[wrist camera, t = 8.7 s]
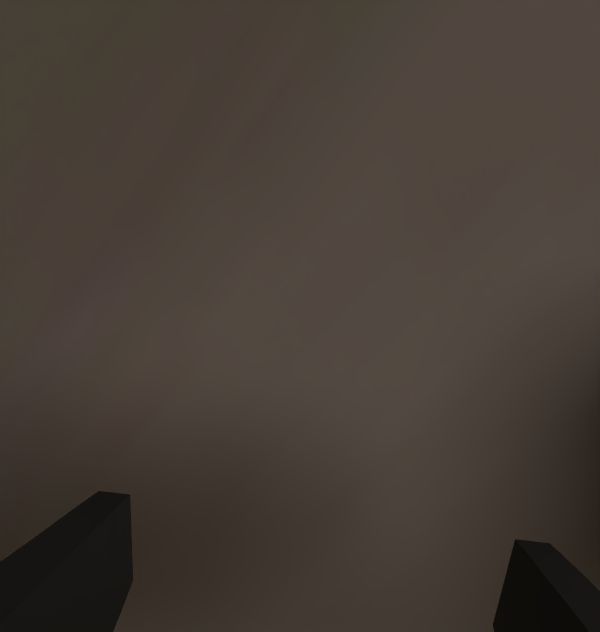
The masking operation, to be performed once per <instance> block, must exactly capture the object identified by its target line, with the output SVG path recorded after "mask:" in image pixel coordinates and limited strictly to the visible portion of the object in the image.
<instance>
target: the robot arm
mask: <svg viewBox="0 0 600 632" xmlns="http://www.w3.org/2000/svg"><path fill="white" fill-rule="evenodd" d="M132 581H133V568H132V538H131V508H130V495H128V494H119V493H111V492H102V491H98V492H97V493H96V494H94V495H93V496H91V497H90V498H88V499H87V500H86V501H84V502H83V503H81V504H80V505H79V506H77V507H76V508H74V509H73V510H72V511H70V512H69V513H68V514H66V515H65V516H64V517H62V518H61V519H59V520H58V521H57V522H55V523H54V524H53V525H51V526H50V527H49V528H47V529H46V530H44V531H43V532H42V533H40V534H39V535H38V536H36V537H35V538H33V539H32V540H31V541H29V542H28V543H26V544H25V545H24V546H22V547H21V548H19V549H18V550H17V551H15V552H14V553H12V554H11V555H9V556H8V557H7V558H5V559H4V560H2V561H1V562H0V632H113V630H114V628H115V625H116V623H117V620H118V618H119V615H120V613H121V610H122V608H123V605H124V602H125V600H126V597H127V594H128V592H129V589H130V587H131V584H132ZM493 628H494V632H600V591H599V590H598V589H597V588H596V587H595V586H594V585H593V584H592V583H591V582H590V581H589V580H588V579H587V578H586V577H585V576H584V575H583V574H582V573H581V572H579V571H578V570H577V569H576V568H575V567H574V566H573V565H572V564H571V563H570V562H569V561H568V560H567V559H566V558H565V557H564V556H563V555H562V554H561V553H559V552H558V551H557V550H556V549H555V548H554V547H553V546H552V545H551V544H549V543H541V542H533V541H524V540H516V539H515V542H514V546H513V550H512V554H511V558H510V561H509V565H508V569H507V573H506V577H505V581H504V584H503V588H502V592H501V596H500V600H499V604H498V607H497V611H496V615H495V619H494V623H493Z"/></svg>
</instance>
